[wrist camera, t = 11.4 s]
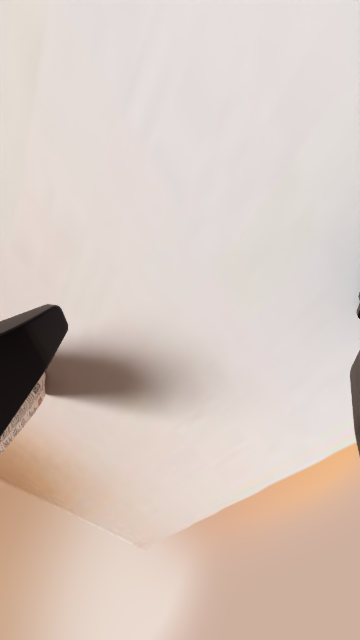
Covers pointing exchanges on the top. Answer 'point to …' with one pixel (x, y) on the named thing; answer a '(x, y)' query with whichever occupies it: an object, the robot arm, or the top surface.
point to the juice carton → (24, 413)
